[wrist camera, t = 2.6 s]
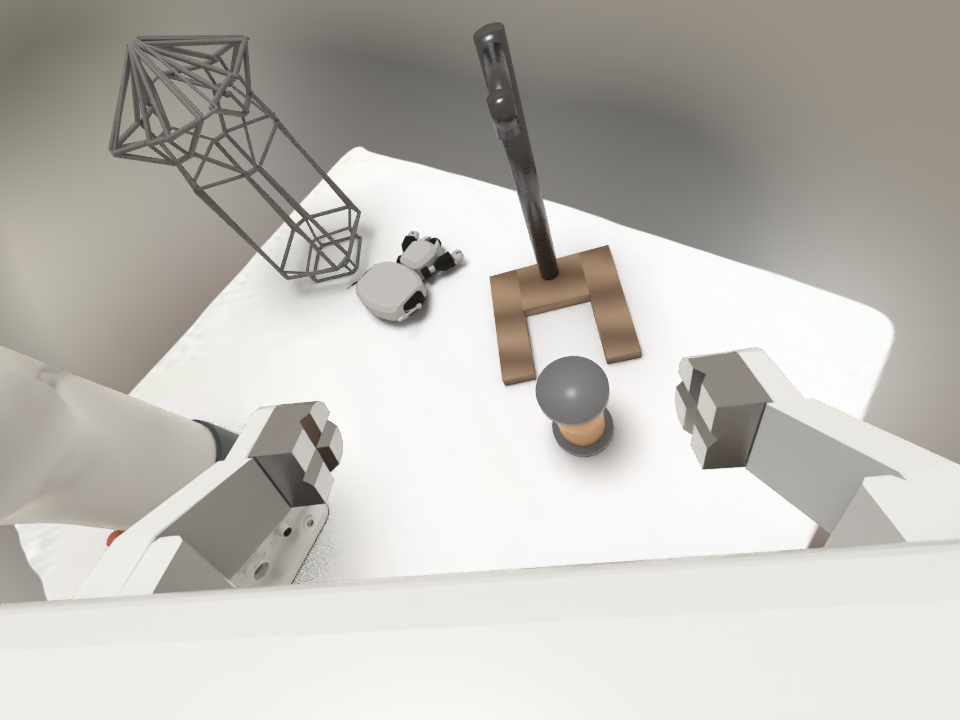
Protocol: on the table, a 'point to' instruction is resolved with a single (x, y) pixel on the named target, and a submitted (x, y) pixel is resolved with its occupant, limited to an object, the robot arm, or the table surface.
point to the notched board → (574, 284)
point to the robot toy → (403, 278)
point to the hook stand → (515, 139)
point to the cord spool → (576, 404)
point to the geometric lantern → (147, 93)
